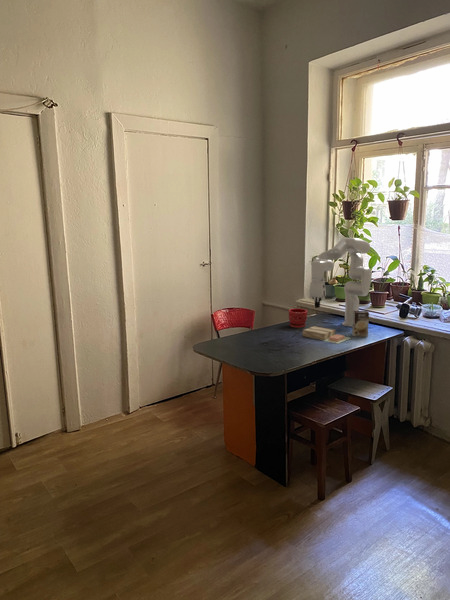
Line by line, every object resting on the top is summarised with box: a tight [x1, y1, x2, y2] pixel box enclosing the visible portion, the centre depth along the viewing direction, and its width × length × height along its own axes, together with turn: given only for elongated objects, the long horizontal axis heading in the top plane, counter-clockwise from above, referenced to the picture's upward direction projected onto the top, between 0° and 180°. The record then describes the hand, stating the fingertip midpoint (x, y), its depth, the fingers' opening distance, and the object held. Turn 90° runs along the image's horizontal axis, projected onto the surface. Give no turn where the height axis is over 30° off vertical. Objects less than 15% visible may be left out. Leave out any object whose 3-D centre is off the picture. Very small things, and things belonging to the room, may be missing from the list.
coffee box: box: [351, 310, 370, 338], centre depth 290 cm, size 9×6×16 cm
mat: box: [322, 336, 352, 345], centre depth 284 cm, size 16×11×1 cm, turn 136°
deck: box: [302, 325, 336, 341], centre depth 293 cm, size 14×16×4 cm
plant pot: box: [288, 308, 308, 329], centre depth 317 cm, size 13×13×12 cm
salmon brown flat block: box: [329, 333, 346, 342], centre depth 283 cm, size 9×6×2 cm, turn 135°
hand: (317, 307), depth 291 cm, fingers closed
